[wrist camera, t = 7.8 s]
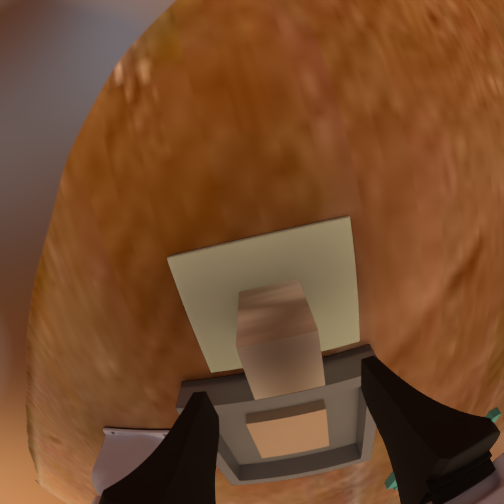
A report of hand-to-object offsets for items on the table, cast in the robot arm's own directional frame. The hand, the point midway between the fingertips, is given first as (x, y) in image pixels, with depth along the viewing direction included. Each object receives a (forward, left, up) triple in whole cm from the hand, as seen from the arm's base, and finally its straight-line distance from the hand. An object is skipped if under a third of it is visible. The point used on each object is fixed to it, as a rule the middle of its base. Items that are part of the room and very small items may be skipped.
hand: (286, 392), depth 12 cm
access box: (-1, -14, -8) cm, 16 cm away
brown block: (0, 0, -8) cm, 8 cm away
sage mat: (0, 0, -8) cm, 8 cm away
